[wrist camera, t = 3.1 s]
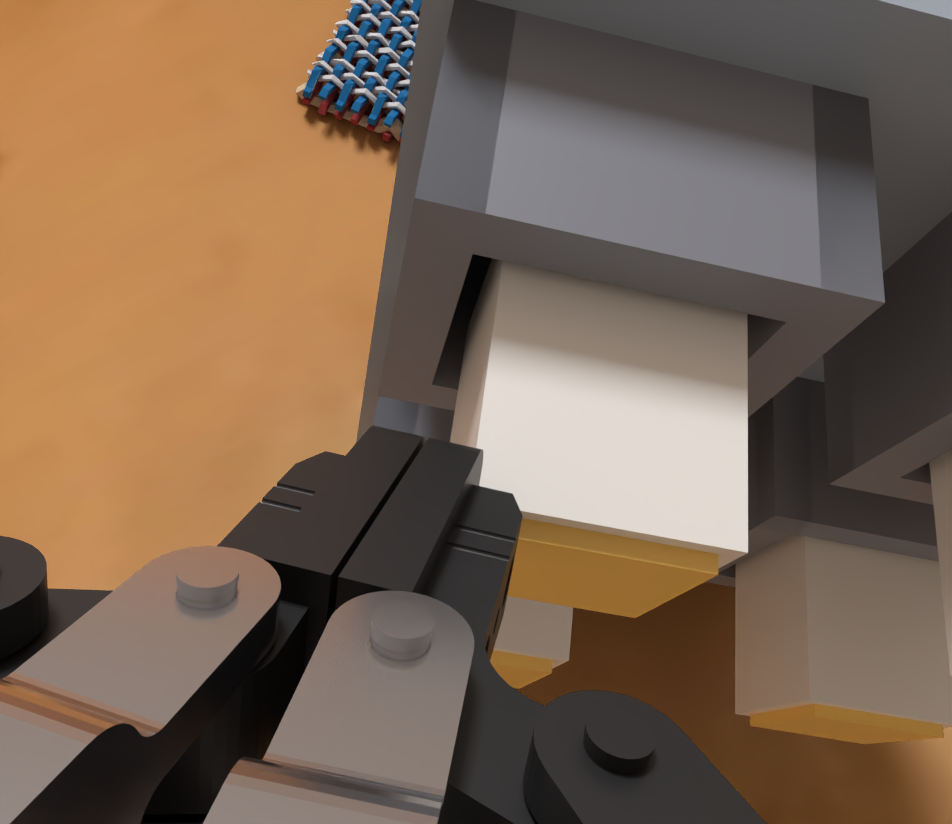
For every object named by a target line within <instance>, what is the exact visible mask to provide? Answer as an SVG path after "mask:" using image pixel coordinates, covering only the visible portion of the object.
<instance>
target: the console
mask: <svg viewBox="0 0 952 824" xmlns="http://www.w3.org/2000/svg"><path fill="white" fill-rule="evenodd" d="M492 258H493V259H498V260H502V261H507V262H512V263H516V264H521V265H525V266H530V267H535V268H539V269H544V270H548V271H553V272H558V273H562V274H567V275H571V276H576V277H581V278H585V279H590V280H595V281H599V282H604V283H608V284H613V285H618V286H622V287H627V288H631V289H636V290H641V291H645V292H650V293H654V294H659V295H664V296H668V297H673V298H678V299H682V300H687V301H691V302H696V303H701V304H705V305H710V306H714V307H719V308H724V309H728V310H733V311H737V312H742V313H747V329H748V553H747V554H745V555H743V556H741V557H739V558H737V559H735V560H734V561H732V562H730V563H728V564H726V565H724V566H722V567H721V568H719V569H718V575H717V576H715V577H713V578H711V579H709V580H708V581H706V582H707V583H713V584H718V585H724V586H729V587H735V567H736V563H738V562H740V561H742V560H744V559H746V558H748V557H750V556H751V555H753V554H755V553H757V552H759V551H761V550H763V549H765V548H767V547H769V546H771V545H772V544H774V543H776V542H778V541H780V540H782V539H784V538H786V537H788V536H790V535H791V534H796V535H801V536H807V537H812V538H817V539H823V540H828V541H833V542H839V543H844V544H849V545H854V546H860V547H865V548H870V549H876V550H881V551H886V552H892V553H897V554H902V555H908V556H913V557H918V558H923V559H929V560H934V561H939V557H938V547H937V536H936V526H935V516H934V506H933V496H932V485H931V475H930V465H929V462H930V461H932V460H934V459H936V458H938V457H940V456H942V455H944V454H946V453H948V452H949V451H951V450H952V0H422V2H421V9H420V16H419V23H418V29H417V36H416V43H415V50H414V56H413V63H412V70H411V77H410V83H409V90H408V97H407V104H406V110H405V117H404V124H403V131H402V137H401V144H400V151H399V158H398V164H397V171H396V178H395V185H394V191H393V198H392V205H391V212H390V218H389V225H388V232H387V239H386V245H385V252H384V259H383V266H382V272H381V279H380V286H379V293H378V299H377V306H376V313H375V320H374V326H373V333H372V340H371V347H370V353H369V360H368V367H367V374H366V380H365V387H364V394H363V401H362V407H361V414H360V421H359V428H358V434H357V441H356V443H357V442H358V441H359V439H360V438H361V437H362V436H363V435H364V433H365V432H366V431H367V430H368V429H369V428H370V427H371V426H372V425H374V426H378V427H383V428H387V429H392V430H396V431H401V432H405V433H410V434H414V435H419V436H423V437H426V439H428V438H433V439H438V440H442V441H447V442H450V438H451V432H452V425H453V419H454V412H455V406H456V399H457V393H458V387H459V380H460V374H461V367H462V361H463V354H464V348H465V342H466V335H467V329H468V325H469V322H470V319H471V316H472V313H473V311H474V308H475V305H476V302H477V299H478V296H479V294H480V291H481V288H482V285H483V282H484V279H485V276H486V274H487V271H488V268H489V265H490V262H491V259H492Z"/></svg>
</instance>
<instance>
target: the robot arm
mask: <svg viewBox="0 0 952 824" xmlns="http://www.w3.org/2000/svg"><path fill="white" fill-rule="evenodd" d="M482 464H483V449H478V448H474V447H469V446H465V445H460V444H456V443H451V442H447V441H442V440H438V439H433V438H428V439H426V437H423V436H419V435H414V434H410V433H405V432H401V431H396V430H392V429H387V428H383V427H378V426H374V425H372V426H371V427H370V428H369V429H368V430H367V431H366V432H365V433H364V435H363V436H362V437H361V438H360V439H359V441H358V442H357V443H356V444H355V445H354V446H353V448H352V449H351V450H350V451H349V452H348V454H347V455H346V456H344V455H339V454H335V453H331V452H326V451H325V452H323V453H320V454H318V455H316V456H313V457H311V458H308V459H306V460H304V461H301V462H299V463H296V464H295V465H294V466H293V467H292V468H291V469H290V470H289V471H288V472H287V473H286V474H285V475H284V476H283V477H282V479H281V480H280V481H279V482H278V483H277V487H273V488H272V489H271V490H270V491H269V492H268V493H267V494H266V495H265V496H264V497H263V500H262V503H260V502H259V503H258V504H257V505H256V506H255V507H254V508H253V509H252V510H251V511H250V512H249V513H248V514H247V515H246V516H245V517H244V518H243V519H242V521H241V522H240V523H239V524H238V525H237V526H236V527H235V528H234V529H233V530H232V531H231V532H230V533H229V534H228V535H227V536H226V537H225V538H224V539H223V540H222V541H221V543H220V544H219V545H218V546H203V547H192V548H186V549H181V550H177V551H173V552H170V553H168V554H165V555H162V556H160V557H158V558H156V559H154V560H152V561H151V562H149V563H148V564H146V565H145V566H144V567H142V568H141V569H140V570H139V571H137V572H136V573H135V574H134V575H133V576H131V577H130V578H129V579H128V580H126V581H125V582H124V583H123V584H121V585H120V586H119V587H118V588H116V589H115V590H114V591H104V590H75V589H48V587H47V567H46V560H45V558H44V556H43V555H42V553H41V552H40V551H39V550H38V549H36V548H35V547H34V546H32V545H30V544H28V543H26V542H24V541H21V540H17V539H14V538H10V537H4V536H0V824H766V823H765V822H764V820H763V819H762V818H761V817H760V816H759V815H758V814H757V813H756V812H755V811H754V809H753V808H752V807H751V806H750V805H749V804H748V803H747V802H746V801H745V799H744V798H743V797H742V796H741V795H740V794H739V793H738V792H737V791H736V790H735V788H734V787H733V786H732V785H731V784H730V783H729V782H728V781H727V780H726V778H725V777H724V776H723V775H722V774H721V773H720V772H719V771H718V770H717V769H716V767H715V766H714V765H713V764H712V763H711V762H710V761H709V760H708V759H707V757H706V756H705V755H704V754H703V753H702V752H701V751H700V750H699V749H698V748H697V746H696V745H695V744H694V743H693V742H692V741H691V740H690V739H689V738H688V736H687V735H686V734H685V733H684V732H683V731H682V730H681V729H680V728H679V727H678V726H677V725H676V724H675V723H674V722H673V721H672V720H671V719H669V718H668V717H667V716H665V715H664V714H663V713H661V712H660V711H658V710H657V709H655V708H653V707H652V706H650V705H648V704H646V703H644V702H641V701H639V700H637V699H635V698H632V697H629V696H626V695H623V694H618V693H614V692H609V691H599V690H586V691H578V692H572V693H569V694H566V695H563V696H560V697H558V698H557V699H555V700H553V701H551V702H550V703H549V704H548V705H547V706H545V707H544V706H542V705H541V704H539V703H537V702H535V701H533V700H531V699H529V698H528V697H526V696H524V695H523V694H521V693H519V692H518V691H517V690H515V689H514V688H513V687H511V686H510V685H509V684H508V683H507V682H506V681H505V680H504V679H503V678H502V677H501V676H500V675H499V674H498V673H497V672H496V670H495V669H494V668H493V666H492V664H491V662H490V659H491V656H492V653H493V649H494V646H495V641H496V639H497V636H498V632H499V629H500V625H501V622H502V619H503V615H504V610H505V605H506V600H507V595H508V590H509V585H510V579H511V574H512V569H513V564H514V559H515V554H516V548H517V543H518V538H519V533H520V528H521V523H522V517H523V516H522V513H521V511H520V509H519V507H518V504H517V502H516V500H515V498H514V495H513V494H512V493H508V492H503V491H499V490H494V489H490V488H486V487H481V486H479V483H480V477H481V471H482Z"/></svg>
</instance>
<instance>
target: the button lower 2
mask: <svg viewBox="0 0 952 824" xmlns="http://www.w3.org/2000/svg"><path fill="white" fill-rule="evenodd" d="M735 714H739V715H745V716H750V726H754V727H760V728H766V729H772V730H779V731H785V732H791V733H797V734H803V735H810V736H816V737H822V738H828V739H834V740H841V741H847V742H853V743H859V744H872V743H884V742H896V741H908V740H921V739H933V738H944V733H943V728H945V727H952V676H950V669H949V659H948V648H947V638H946V628H945V618H944V608H943V597H942V587H941V577H940V567H939V561H934V560H929V559H923V558H918V557H913V556H908V555H902V554H897V553H892V552H886V551H881V550H876V549H870V548H865V547H860V546H854V545H849V544H844V543H839V542H833V541H828V540H823V539H817V538H812V537H807V536H801V535H796V534H791V535H790V536H788V537H786V538H784V539H782V540H780V541H778V542H776V543H774V544H772V545H771V546H769V547H767V548H765V549H763V550H761V551H759V552H757V553H755V554H753V555H751V556H750V557H748V558H746V559H744V560H742V561H740V562H738V563H736V567H735Z"/></svg>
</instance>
